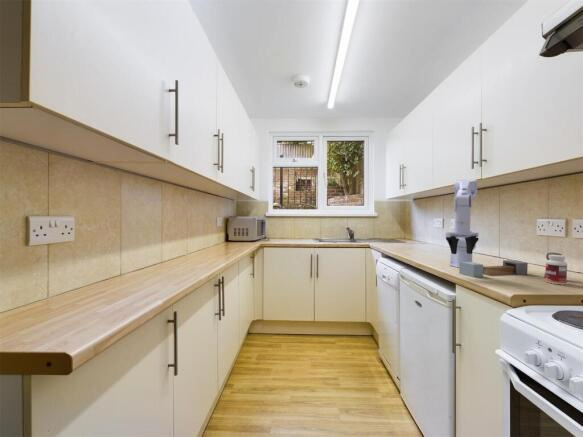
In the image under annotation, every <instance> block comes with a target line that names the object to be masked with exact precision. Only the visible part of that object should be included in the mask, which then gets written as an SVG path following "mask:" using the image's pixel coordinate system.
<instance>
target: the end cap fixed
mask: <svg viewBox="0 0 583 437" xmlns="http://www.w3.org/2000/svg"><path fill="white" fill-rule="evenodd" d="M528 264H529V263H528V262H525V261H518V260H512V259H509V260H508V259H506V260H502V266H514V267H516V274H515V275H517V276H523V275H524V276H525V275H528V268H529V267H528Z"/></svg>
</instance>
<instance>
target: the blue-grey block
mask: <svg viewBox="0 0 583 437" xmlns="http://www.w3.org/2000/svg"><path fill="white" fill-rule="evenodd" d="M483 267H484V264H483V263H478V262H473V261H472V262H460V264H459V268H458V269H459V270H458V271H459V272H458V273H459V275H463V276H468V277H470V278H471V277H472V278H480V277H482V278H483V277H484V274H483Z"/></svg>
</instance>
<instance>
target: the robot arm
mask: <svg viewBox="0 0 583 437" xmlns="http://www.w3.org/2000/svg"><path fill="white" fill-rule="evenodd" d="M453 187H454V188H453V191H454V198H453V206H454V232H453V231H451V232H450V231H449V232H445V240H446V241H447V243H448V246H449V248H450V249H449V250H450V255H449V257H450V260H449V263H450V264H448V266H450V267H454V268H455V267H456V268H458V269H459V264H460V262H473V251H474V250H475V249H476V244H477V242H478V241H479V232H473V231H472V230H471V210H472V209H471V208H472V207H473V198H475V197H476V198H477V195H478V179H477V178H474V179H459V180H457V179H455V180H454V184H453Z"/></svg>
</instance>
